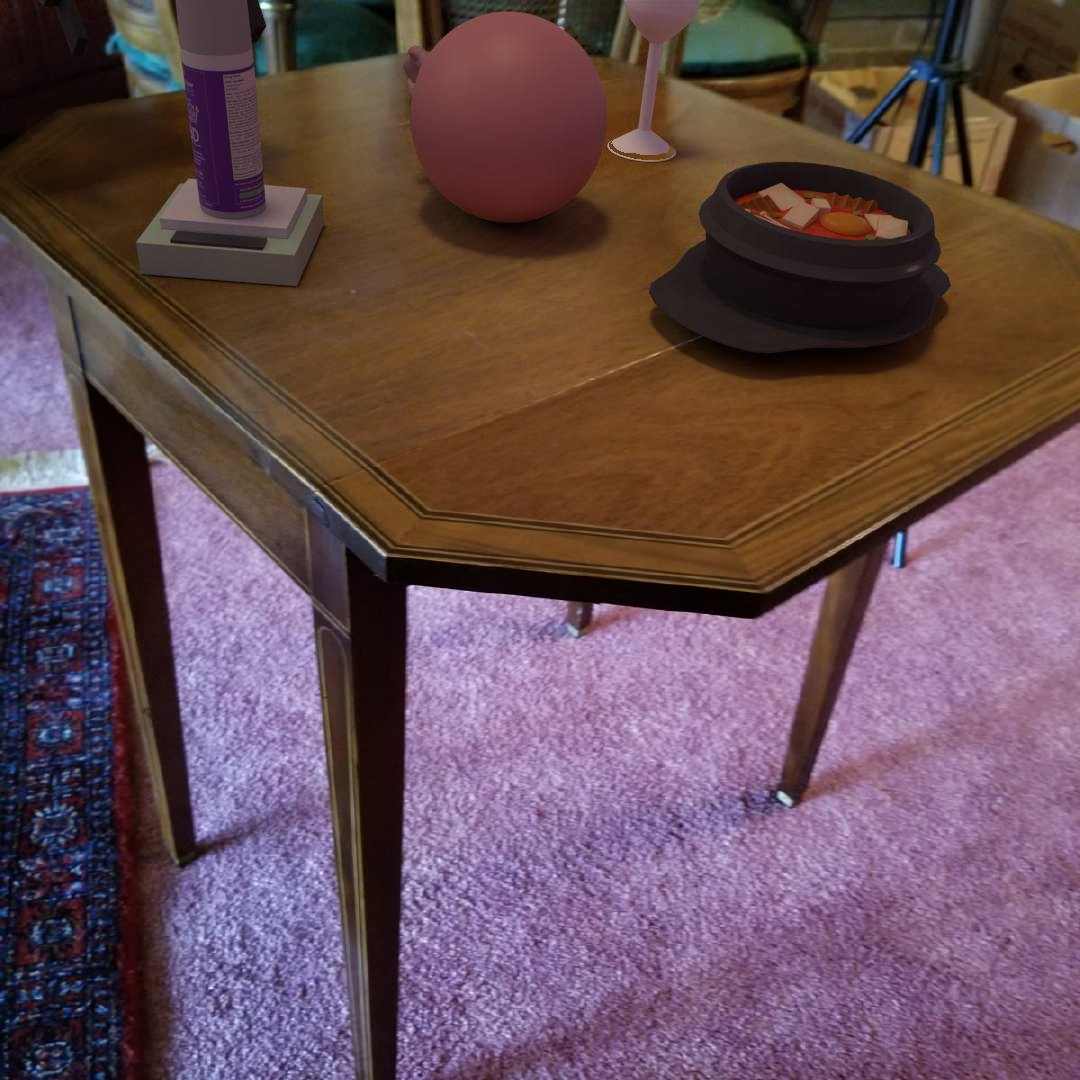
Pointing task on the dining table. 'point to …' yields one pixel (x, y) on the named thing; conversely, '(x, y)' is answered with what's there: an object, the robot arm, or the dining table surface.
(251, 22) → the robot arm
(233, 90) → the container
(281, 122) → the dining table surface
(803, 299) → the casserole
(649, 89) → the champagne flute
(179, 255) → the scale
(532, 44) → the balloon
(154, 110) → the dining table surface
